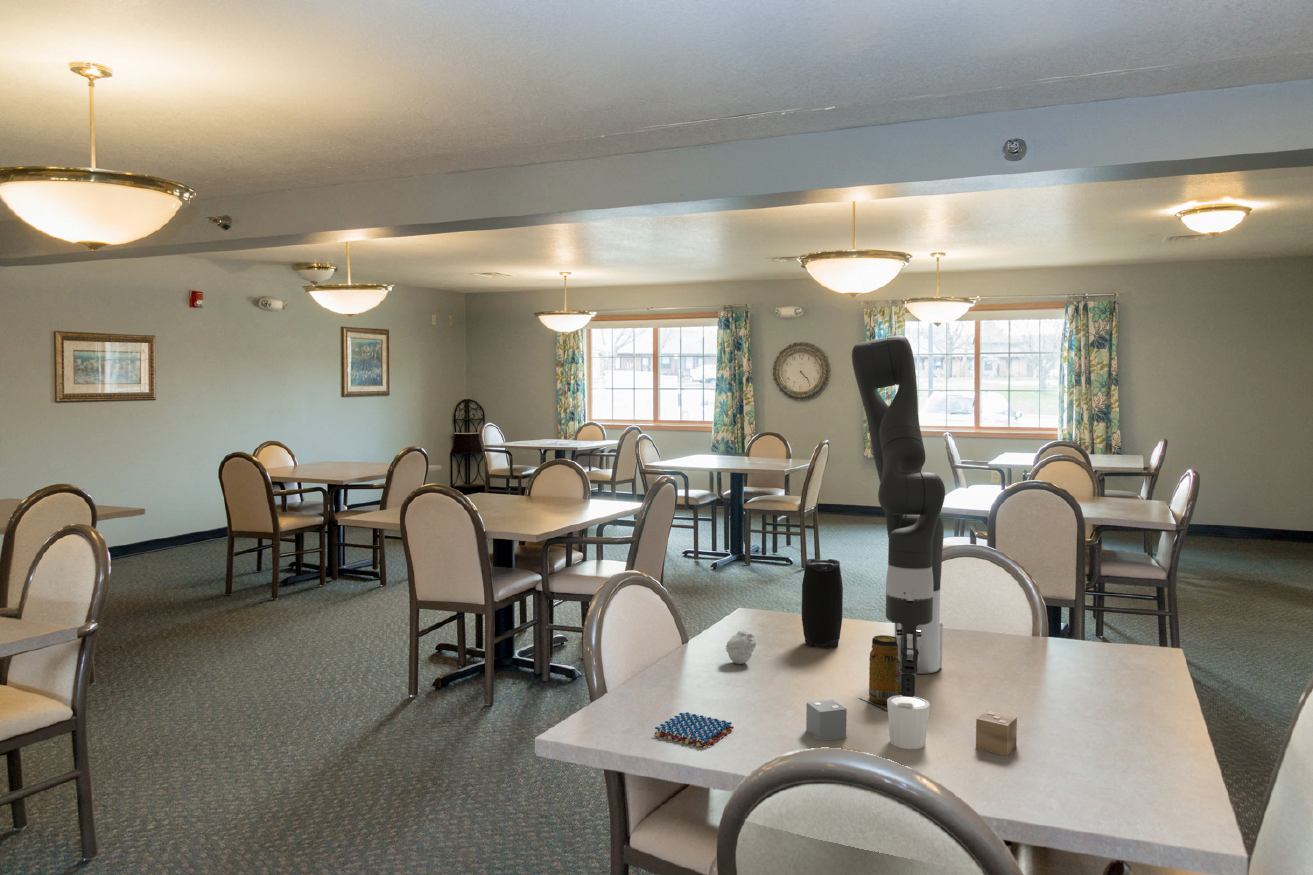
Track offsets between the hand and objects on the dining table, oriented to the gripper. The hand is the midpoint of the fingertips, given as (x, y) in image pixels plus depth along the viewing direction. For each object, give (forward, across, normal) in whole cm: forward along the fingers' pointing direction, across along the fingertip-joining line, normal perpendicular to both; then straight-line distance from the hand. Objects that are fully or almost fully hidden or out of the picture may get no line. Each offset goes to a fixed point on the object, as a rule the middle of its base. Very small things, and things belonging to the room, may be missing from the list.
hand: (907, 695), depth 150 cm
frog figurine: (+8, -38, -33) cm, 51 cm away
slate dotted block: (+8, -1, -13) cm, 16 cm away
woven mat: (+9, +4, -35) cm, 37 cm away
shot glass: (+8, 0, 0) cm, 8 cm away
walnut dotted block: (+8, -2, +14) cm, 17 cm away
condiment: (+8, -20, -3) cm, 22 cm away
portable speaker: (+8, -57, -17) cm, 60 cm away
